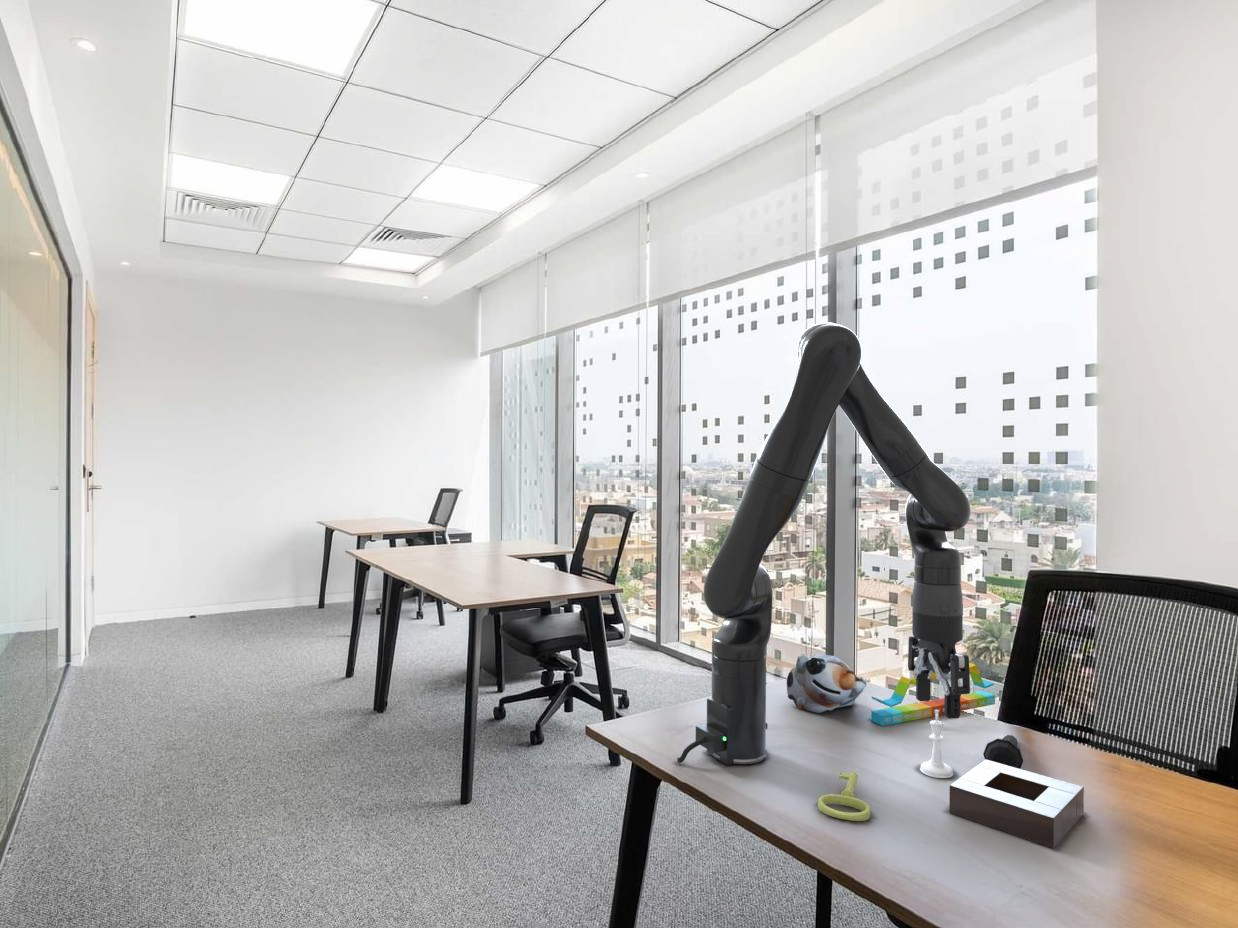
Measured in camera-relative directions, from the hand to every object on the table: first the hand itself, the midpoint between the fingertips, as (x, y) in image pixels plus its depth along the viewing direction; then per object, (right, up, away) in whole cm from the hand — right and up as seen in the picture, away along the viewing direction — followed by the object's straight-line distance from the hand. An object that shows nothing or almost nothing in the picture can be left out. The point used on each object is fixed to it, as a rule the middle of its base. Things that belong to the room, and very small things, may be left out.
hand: (937, 708), depth 121 cm
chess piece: (0, -10, 0) cm, 10 cm away
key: (-18, -11, -11) cm, 24 cm away
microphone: (+14, -10, +4) cm, 18 cm away
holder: (+5, -10, -14) cm, 18 cm away
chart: (+12, -10, +28) cm, 32 cm away
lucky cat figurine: (-9, -10, +31) cm, 34 cm away
